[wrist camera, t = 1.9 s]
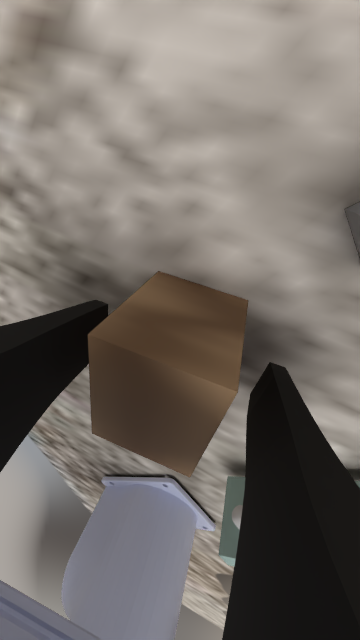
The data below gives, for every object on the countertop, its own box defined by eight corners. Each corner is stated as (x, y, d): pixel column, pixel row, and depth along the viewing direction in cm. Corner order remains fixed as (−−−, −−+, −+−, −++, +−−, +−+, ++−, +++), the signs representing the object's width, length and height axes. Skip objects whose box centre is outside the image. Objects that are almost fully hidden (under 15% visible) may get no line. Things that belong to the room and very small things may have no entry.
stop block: (248, 299, 9) (237, 391, 5) (213, 378, 12) (189, 477, 8) (159, 270, 10) (87, 334, 6) (146, 352, 13) (92, 433, 9)
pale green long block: (420, 474, 10) (492, 608, 7) (428, 505, 11) (495, 636, 8) (223, 470, 15) (213, 548, 12) (238, 491, 16) (233, 570, 13)
